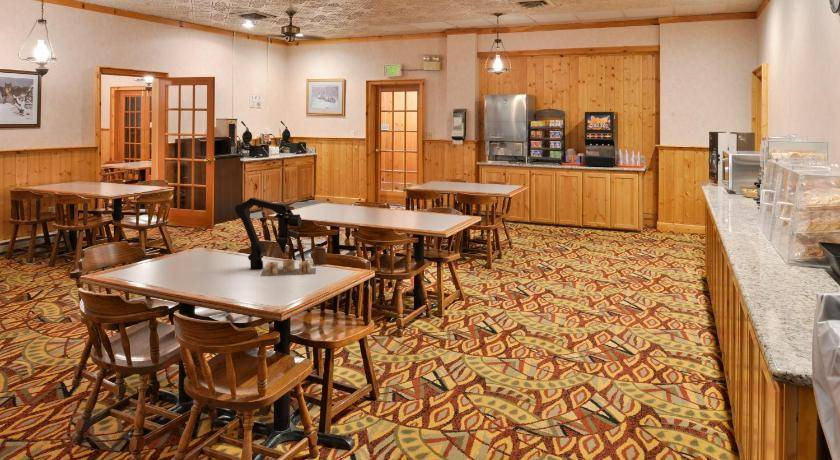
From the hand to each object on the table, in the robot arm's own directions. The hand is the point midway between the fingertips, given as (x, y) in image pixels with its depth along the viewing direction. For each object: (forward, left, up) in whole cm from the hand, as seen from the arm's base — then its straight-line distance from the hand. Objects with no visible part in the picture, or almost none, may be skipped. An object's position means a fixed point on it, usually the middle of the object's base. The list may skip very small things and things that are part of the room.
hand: (283, 252), depth 348 cm
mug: (+19, +12, -11) cm, 25 cm away
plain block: (+3, -4, -10) cm, 11 cm away
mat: (+3, -7, -11) cm, 13 cm away
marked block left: (-6, -10, -10) cm, 15 cm away
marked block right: (+12, -10, -10) cm, 18 cm away
